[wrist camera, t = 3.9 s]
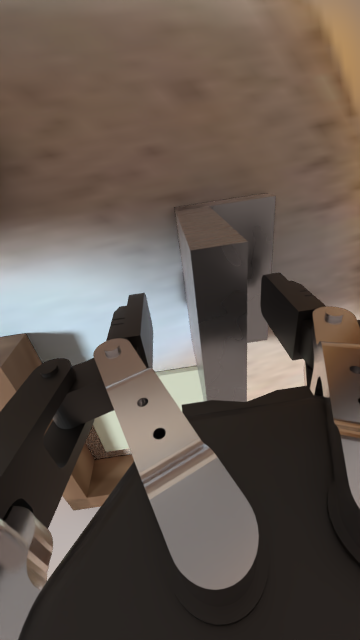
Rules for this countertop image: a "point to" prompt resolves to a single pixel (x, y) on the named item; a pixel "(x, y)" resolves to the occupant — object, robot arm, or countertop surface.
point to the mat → (180, 387)
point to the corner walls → (88, 474)
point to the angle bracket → (225, 286)
